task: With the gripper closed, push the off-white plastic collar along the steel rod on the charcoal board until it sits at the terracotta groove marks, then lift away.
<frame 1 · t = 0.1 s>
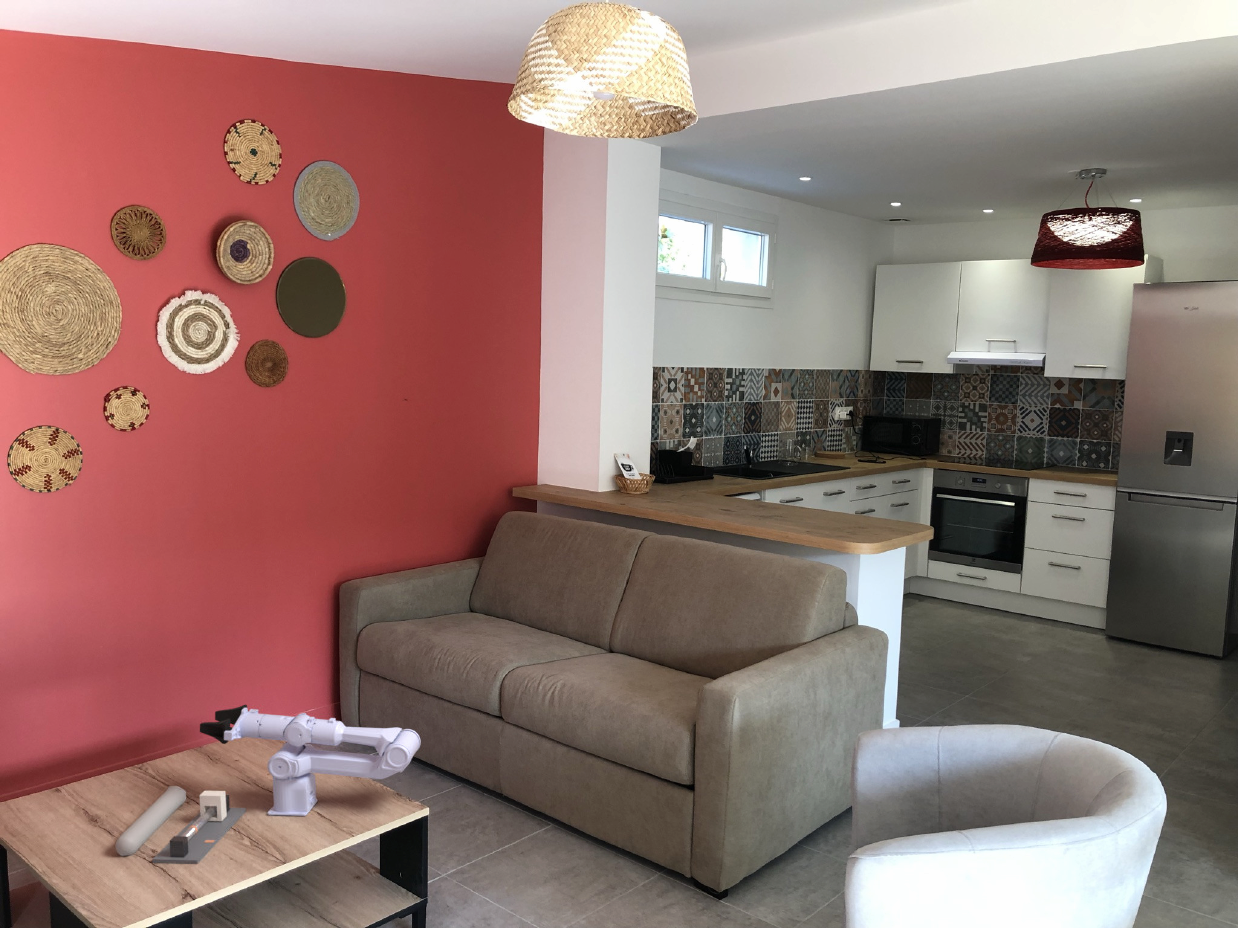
hand: (208, 721, 234), 22 cm above the table, tool horizontal, fingers open, 7 cm apart
tube: (151, 831, 225), on the table
rod board: (201, 835, 222), on the table
collar: (213, 805, 228), point 4 cm above the table, slide at 0.0 cm
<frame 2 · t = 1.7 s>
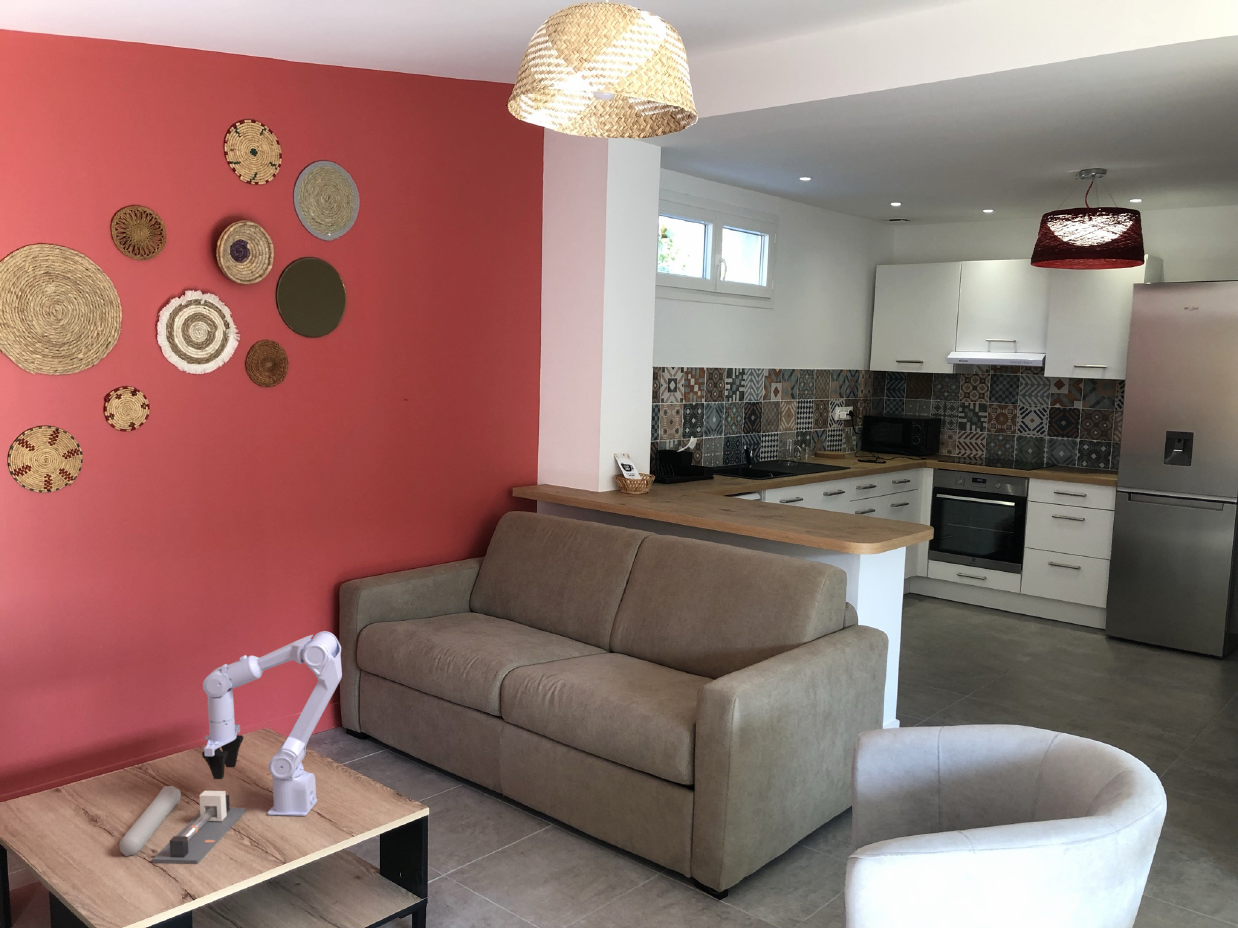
hand: (224, 772, 234), 9 cm above the table, tool pointing down, fingers open, 6 cm apart
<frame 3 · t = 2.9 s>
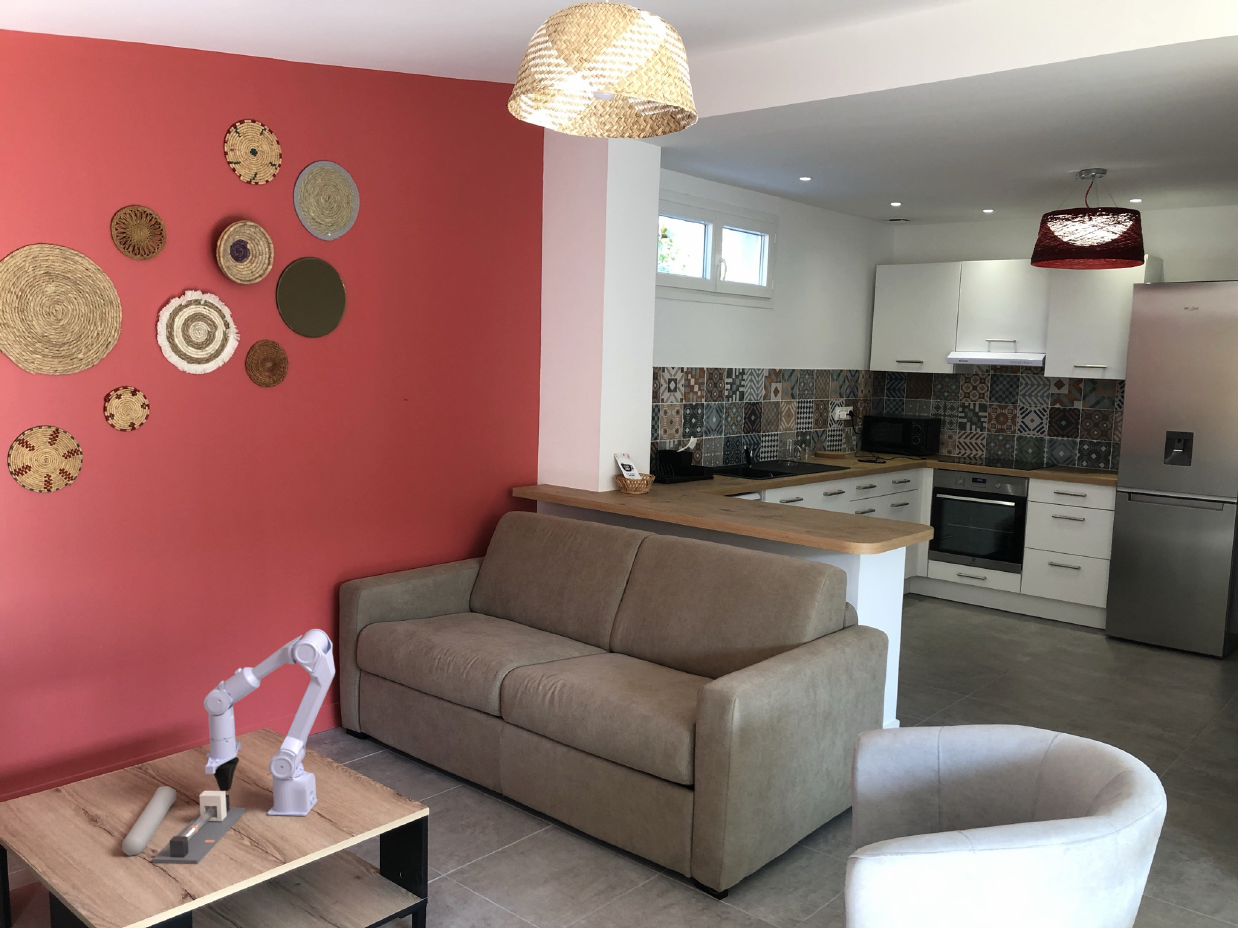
hand: (225, 789, 234), 5 cm above the table, tool pointing down, fingers closed
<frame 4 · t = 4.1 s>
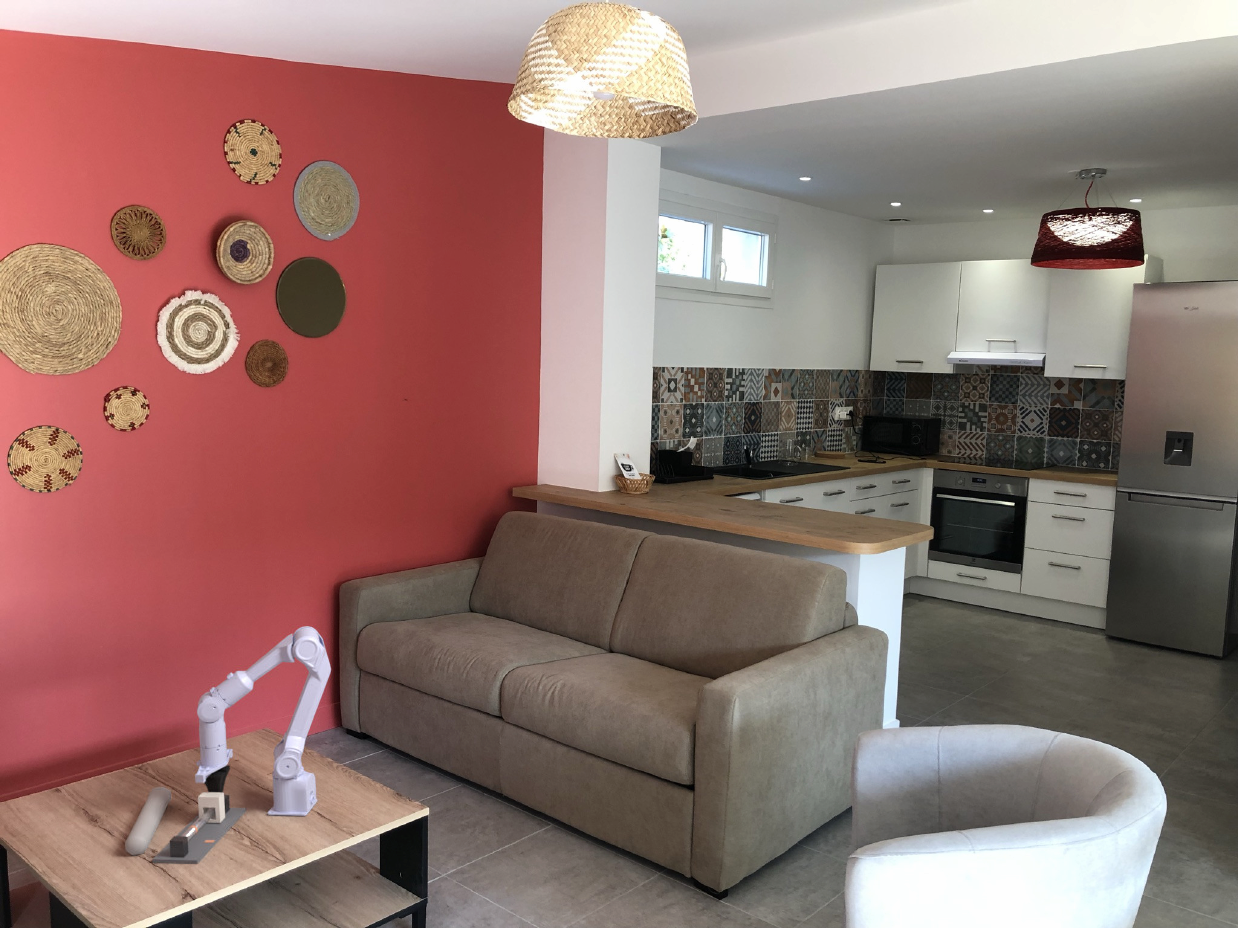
hand: (216, 798, 229), 5 cm above the table, tool pointing down, fingers closed
collar: (211, 807, 227), point 4 cm above the table, slide at 0.8 cm, touching gripper
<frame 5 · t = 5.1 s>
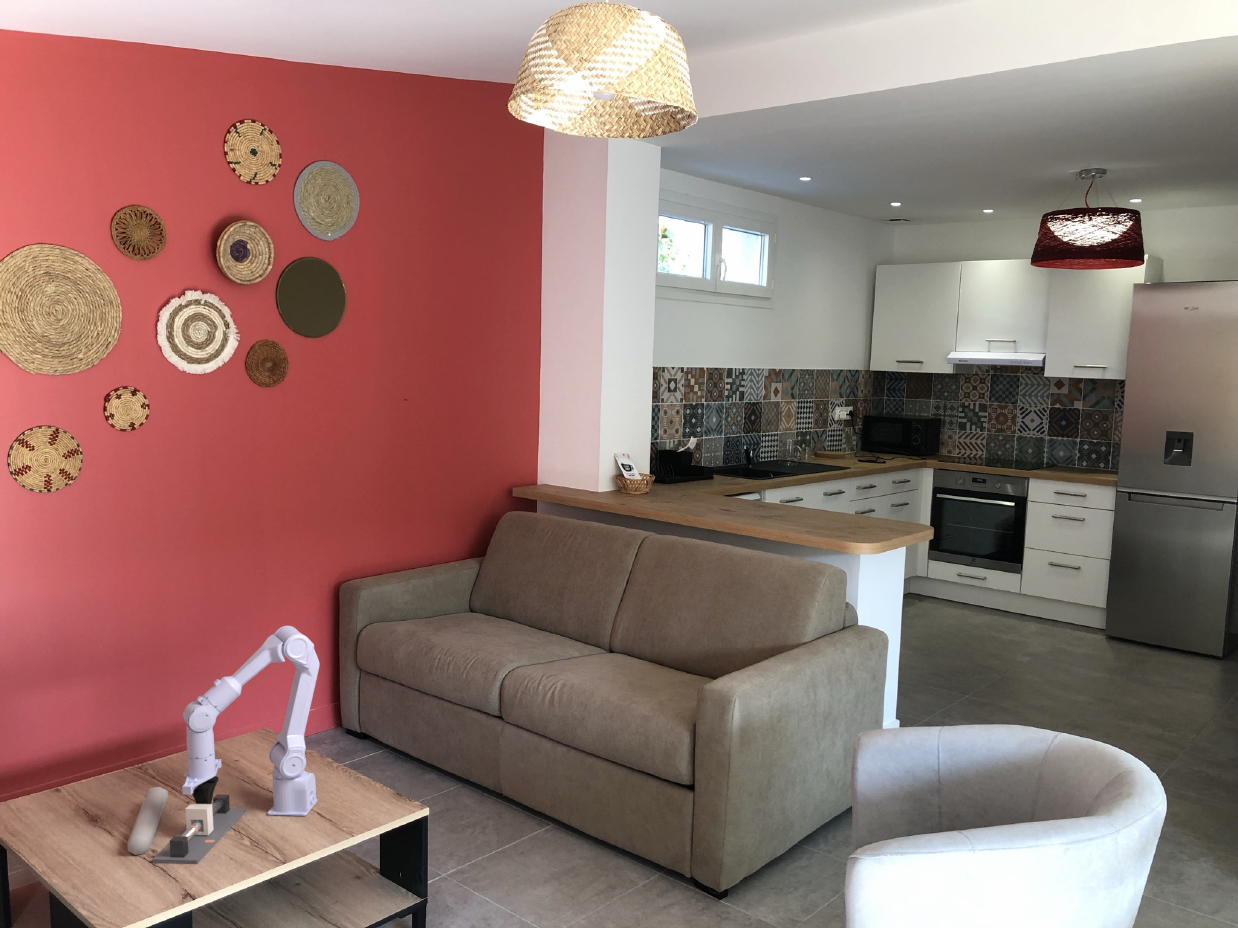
hand: (204, 810, 224), 5 cm above the table, tool pointing down, fingers closed
collar: (199, 819, 221), point 4 cm above the table, slide at 6.6 cm, touching gripper
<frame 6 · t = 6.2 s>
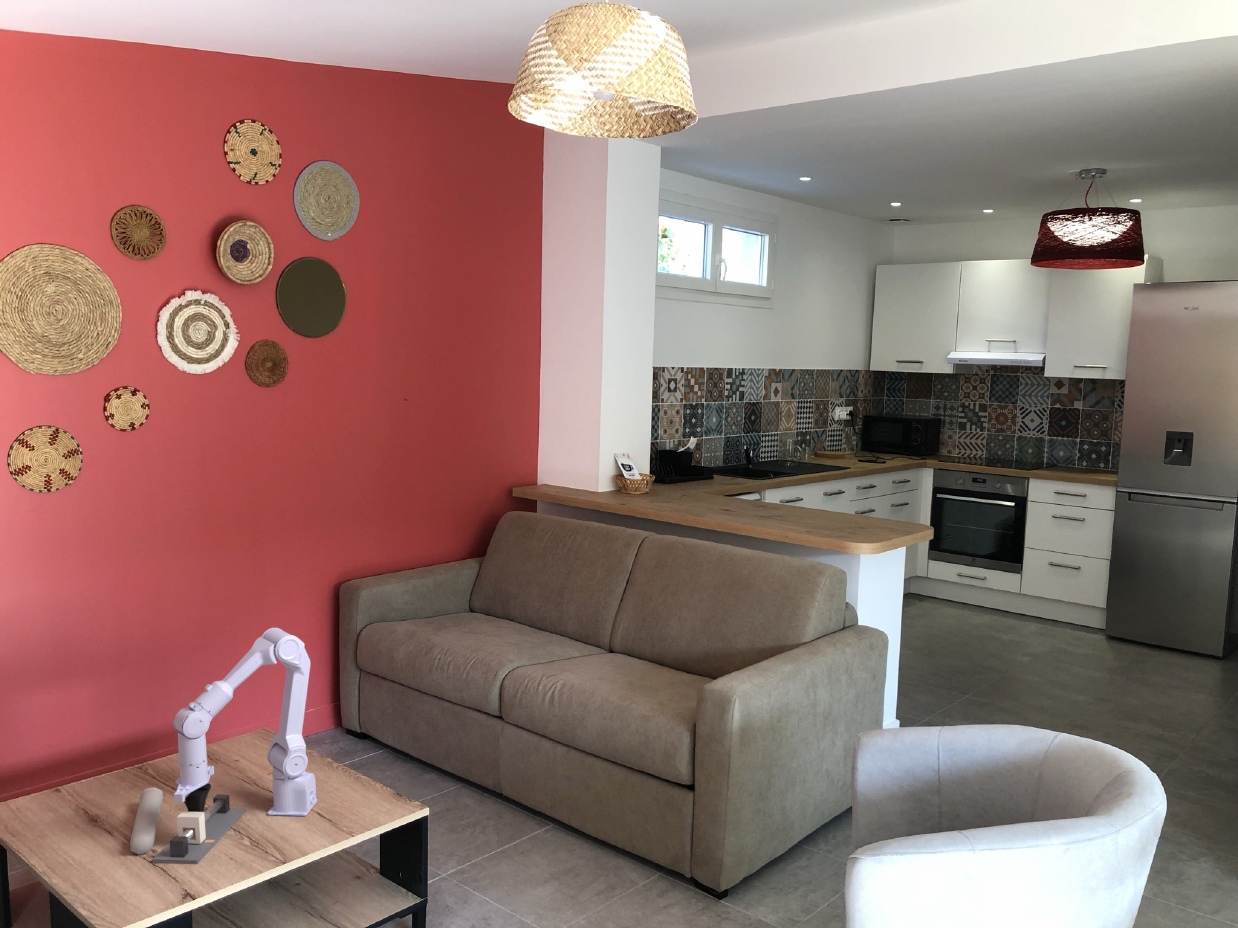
hand: (196, 817, 220), 5 cm above the table, tool pointing down, fingers closed
collar: (191, 827, 218), point 4 cm above the table, slide at 10.3 cm, touching gripper
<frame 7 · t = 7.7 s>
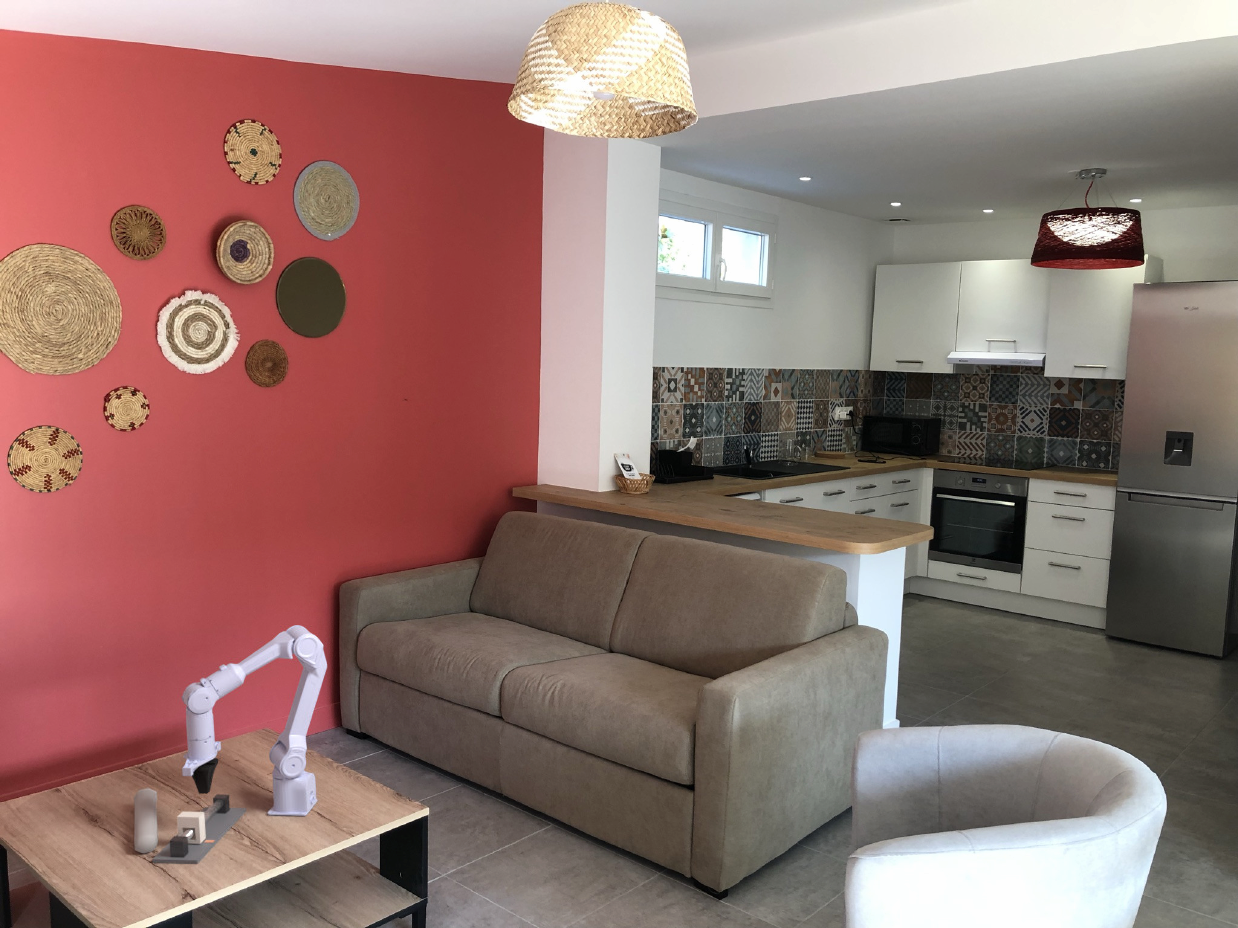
hand: (204, 792, 223), 9 cm above the table, tool pointing down, fingers closed
collar: (191, 827, 217), point 4 cm above the table, slide at 10.3 cm
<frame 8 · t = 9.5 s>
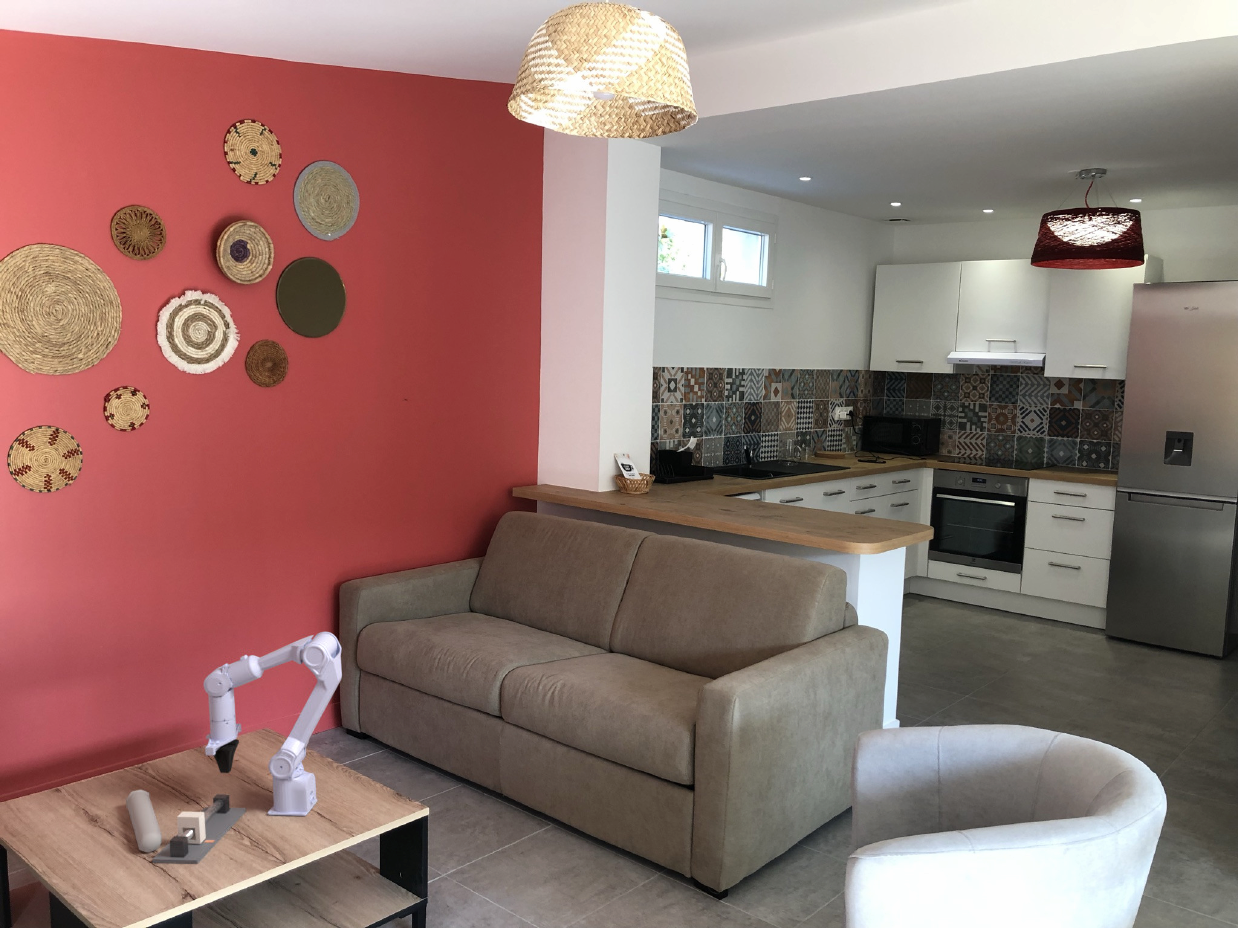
hand: (225, 771, 234), 9 cm above the table, tool pointing down, fingers closed
at the end: collar slide at 10.3 cm; tube moved 1.5 cm from its start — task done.
